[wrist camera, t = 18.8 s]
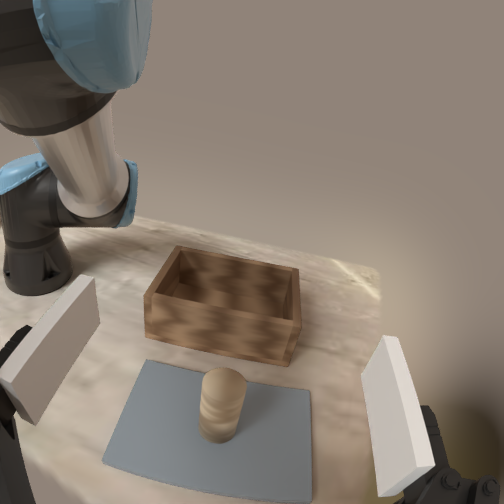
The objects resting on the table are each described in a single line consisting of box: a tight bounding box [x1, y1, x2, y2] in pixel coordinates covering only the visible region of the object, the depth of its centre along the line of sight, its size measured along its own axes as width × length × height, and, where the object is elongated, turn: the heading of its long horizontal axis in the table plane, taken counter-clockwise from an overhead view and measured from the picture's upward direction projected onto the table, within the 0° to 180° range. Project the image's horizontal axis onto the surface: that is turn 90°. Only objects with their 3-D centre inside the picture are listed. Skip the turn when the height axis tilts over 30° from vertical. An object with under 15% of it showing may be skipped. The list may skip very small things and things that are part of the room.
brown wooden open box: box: [144, 246, 302, 367], centre depth 52 cm, size 22×16×8 cm
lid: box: [102, 359, 312, 504], centre depth 32 cm, size 23×17×10 cm
